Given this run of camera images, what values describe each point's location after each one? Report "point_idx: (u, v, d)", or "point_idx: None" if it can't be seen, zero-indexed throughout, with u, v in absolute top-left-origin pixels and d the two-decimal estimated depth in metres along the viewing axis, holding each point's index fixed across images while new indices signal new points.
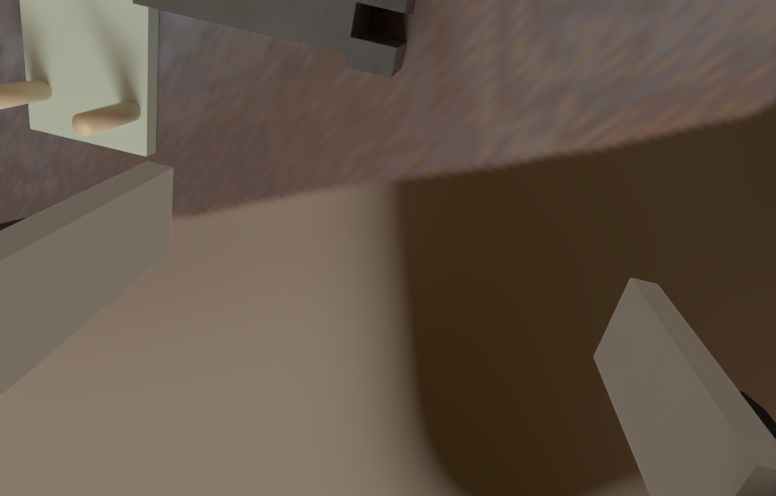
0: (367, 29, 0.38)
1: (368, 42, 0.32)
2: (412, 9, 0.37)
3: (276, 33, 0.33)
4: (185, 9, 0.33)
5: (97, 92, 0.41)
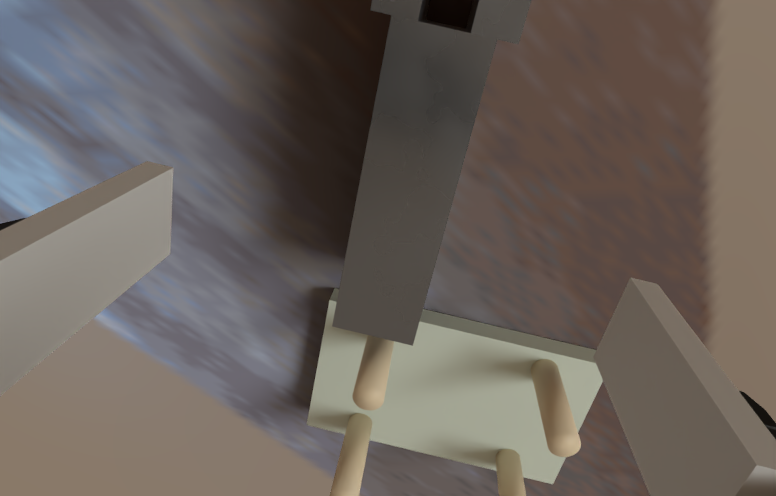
0: (460, 27, 0.25)
1: None
2: None
3: (459, 158, 0.21)
4: (422, 283, 0.24)
5: (517, 401, 0.32)
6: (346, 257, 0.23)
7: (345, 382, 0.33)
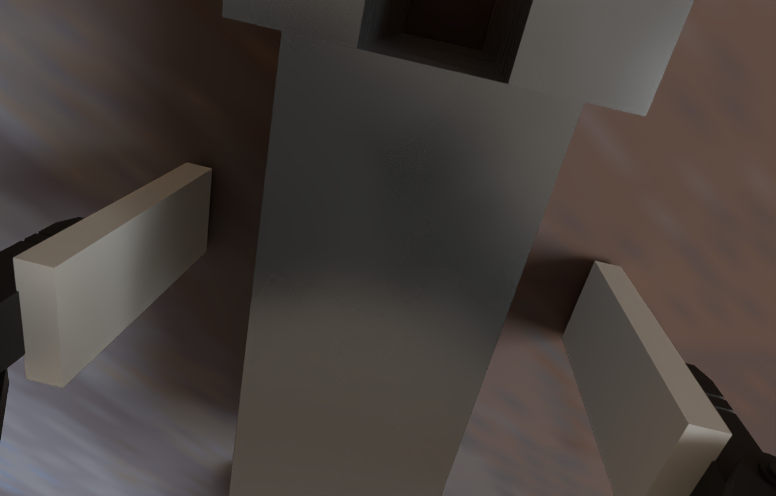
0: (470, 48, 0.13)
1: None
2: None
3: (469, 379, 0.09)
4: None
5: None
6: None
7: None
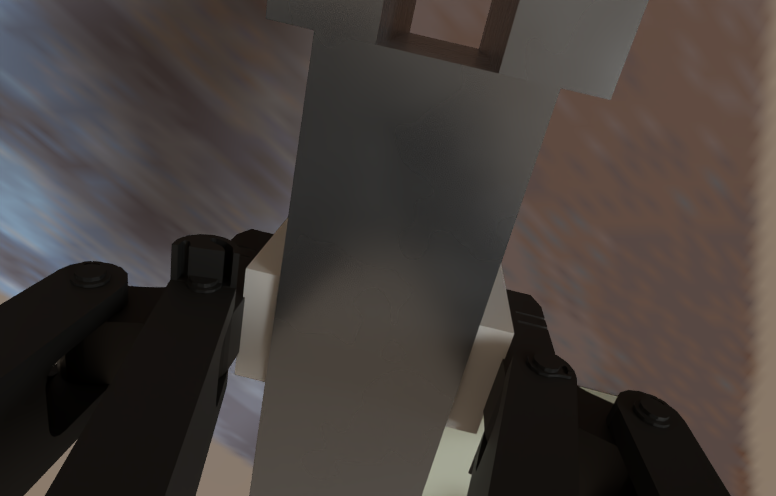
0: (468, 47, 0.14)
1: None
2: None
3: (467, 326, 0.10)
4: None
5: None
6: (253, 480, 0.12)
7: None
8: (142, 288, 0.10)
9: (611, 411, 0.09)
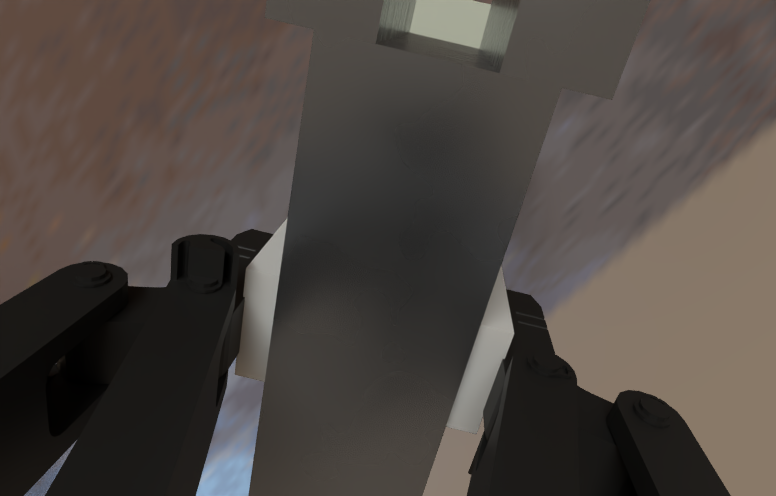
0: (469, 46, 0.14)
1: None
2: None
3: (468, 327, 0.10)
4: None
5: None
6: (252, 481, 0.12)
7: None
8: (142, 288, 0.10)
9: (611, 411, 0.09)
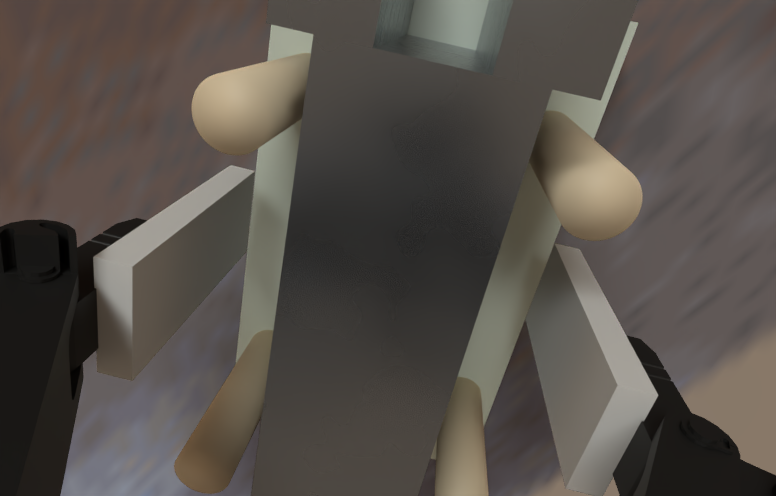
0: (465, 48, 0.15)
1: None
2: None
3: (464, 321, 0.10)
4: None
5: None
6: (256, 473, 0.13)
7: None
8: None
9: None
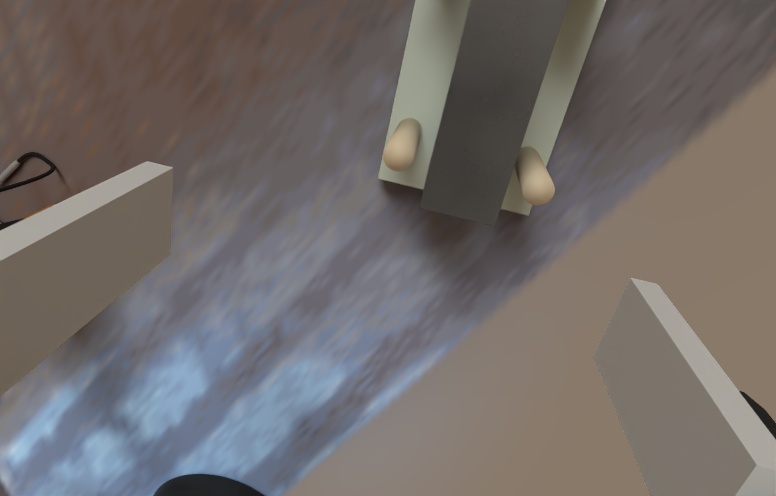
0: None
1: None
2: None
3: (553, 32, 0.23)
4: (508, 162, 0.25)
5: None
6: (438, 136, 0.25)
7: None
8: None
9: None
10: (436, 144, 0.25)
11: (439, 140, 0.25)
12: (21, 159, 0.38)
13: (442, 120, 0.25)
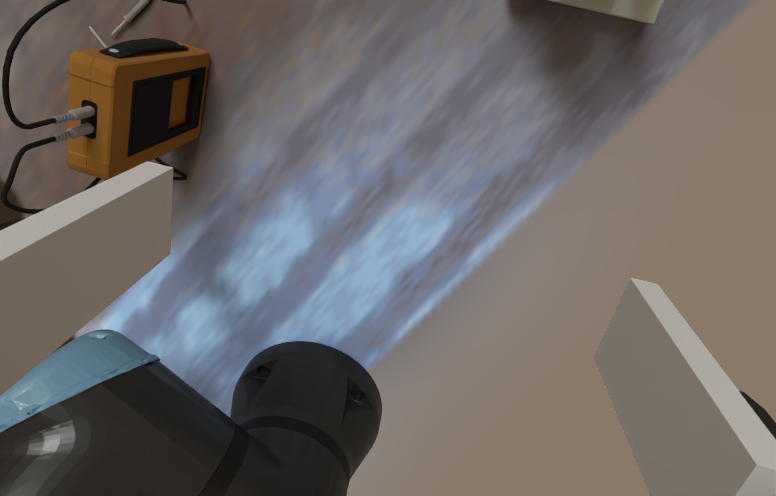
0: None
1: None
2: None
3: None
4: None
5: None
6: None
7: None
8: None
9: None
10: None
11: None
12: None
13: None
